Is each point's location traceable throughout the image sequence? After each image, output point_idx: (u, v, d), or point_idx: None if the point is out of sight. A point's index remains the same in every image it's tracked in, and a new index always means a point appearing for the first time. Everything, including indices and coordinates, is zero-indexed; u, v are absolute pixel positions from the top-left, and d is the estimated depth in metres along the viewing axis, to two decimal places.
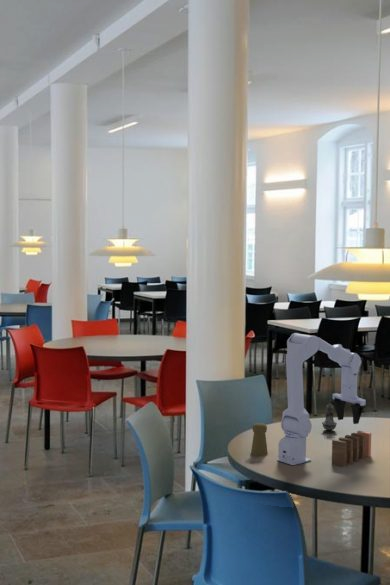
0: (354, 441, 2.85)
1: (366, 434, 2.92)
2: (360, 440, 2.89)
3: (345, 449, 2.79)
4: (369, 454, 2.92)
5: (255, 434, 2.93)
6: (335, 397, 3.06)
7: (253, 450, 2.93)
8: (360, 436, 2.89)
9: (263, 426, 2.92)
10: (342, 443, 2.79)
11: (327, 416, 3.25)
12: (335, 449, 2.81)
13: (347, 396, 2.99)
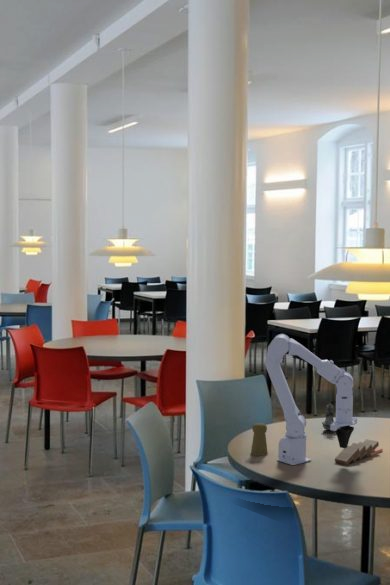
0: (367, 445, 2.92)
1: (379, 448, 3.00)
2: (373, 443, 2.96)
3: (355, 453, 2.85)
4: (371, 455, 2.94)
5: (255, 434, 2.93)
6: None
7: (253, 450, 2.93)
8: (375, 441, 2.97)
9: (263, 426, 2.92)
10: (356, 448, 2.86)
11: (327, 416, 3.25)
12: (346, 451, 2.86)
13: None
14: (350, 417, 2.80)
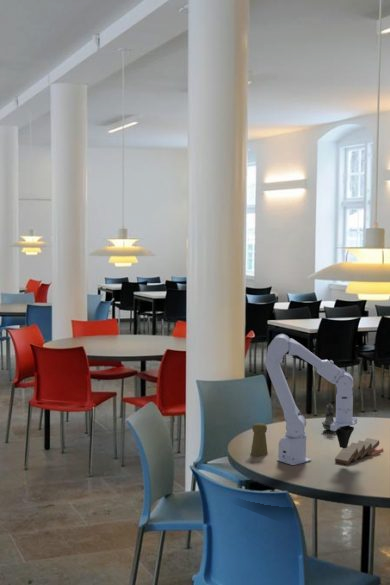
0: (367, 444, 2.93)
1: None
2: (374, 442, 2.97)
3: (354, 453, 2.86)
4: None
5: (255, 434, 2.93)
6: None
7: (253, 450, 2.93)
8: (375, 440, 2.98)
9: (263, 426, 2.92)
10: (354, 448, 2.87)
11: (327, 416, 3.25)
12: (345, 450, 2.87)
13: None
14: (350, 417, 2.80)
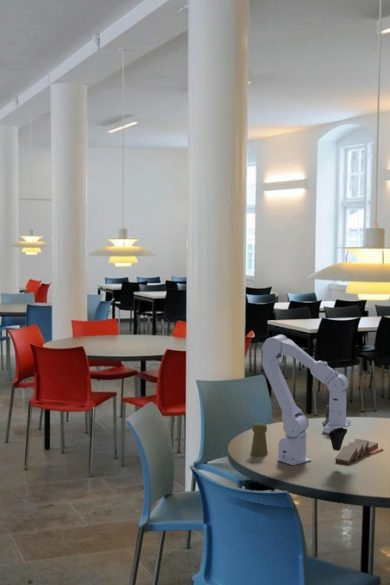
0: (364, 442, 2.96)
1: None
2: (373, 443, 3.01)
3: (354, 453, 2.86)
4: None
5: (255, 434, 2.93)
6: None
7: (253, 450, 2.93)
8: (374, 442, 3.02)
9: (263, 426, 2.92)
10: (354, 448, 2.88)
11: (327, 416, 3.25)
12: (344, 450, 2.87)
13: None
14: (343, 419, 2.76)
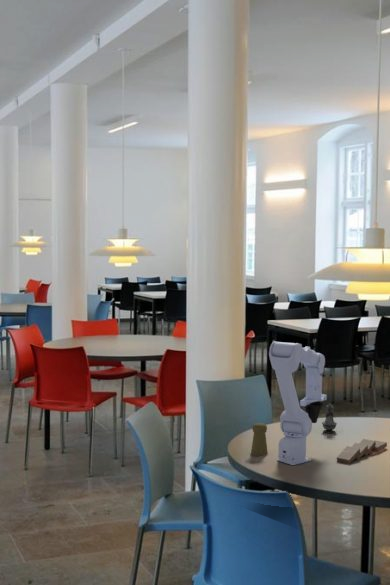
0: (371, 442, 2.97)
1: None
2: (382, 443, 3.02)
3: (356, 453, 2.87)
4: None
5: (255, 434, 2.93)
6: None
7: (253, 450, 2.93)
8: (383, 442, 3.03)
9: (263, 426, 2.92)
10: (357, 448, 2.89)
11: (327, 416, 3.25)
12: (347, 450, 2.88)
13: None
14: (319, 393, 2.95)
